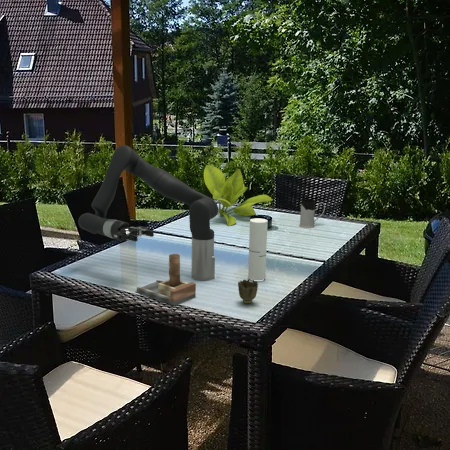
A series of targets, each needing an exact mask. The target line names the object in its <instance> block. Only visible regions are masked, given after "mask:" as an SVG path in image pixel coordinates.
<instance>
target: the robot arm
mask: <svg viewBox="0 0 450 450" xmlns="http://www.w3.org/2000/svg"><path fill="white" fill-rule="evenodd" d="M123 171H126V172H127V173H129V174H132V175H133V176H135V177H137V178H139V179H140V180H142V181H143V182H144V183H145V184H146V185H148V186H149V188H151V189H152V190H153V191H155V192H157V193H158V194H160V195H162V196H163V197H165V198H166V199H170V200H173V201H176V202H180V203H182V204H185V205H187V206H188V207H189V211H188V212H189V216H188V217H189V220H188V221H189V230H190V233H191V278H192V279H193V280H195V281H209V280H213V279H215V278H216V277H215V273H216V271H215V270H216V269H215V268H216V256H215V230H213V229H212V228H211V220H213V218H215V217H217V215H218V214H219V204H217V202H216V201H215V199H213V198H212V197H210V196H207V195H206V194H204V193H201V192H200V191H198V190H195V189H193V188H192V187H190V185H188V184H186V183H185V182H183V181H181V180H180V179H178V177H175V176H174V175H172V174H171V173H170V172H168V171H166V170H164V169H162V168H160V167H158V166H155V165H152V164H150V163H149V162H148V161H146V160H145V159H144V158H143V157H141V156H140V155H139V154H138V153H137V152H136V151H135V150H134V149H132V148H131V147H130V146H129V145H120V146H118V147H117V148H116V149H115V150H114V151H113V154H112V157H111V159H110V162H109V166H108V168H107V171H106V174H105V177H104V179H103V181H102V184H101V186H100V188H99V189H98V192H96V195H95V196H94V199H93V200H92V202H91V208H92V209H93V210H94V211H95V214H93V213H91V212H86V213H83V214H81V215H80V216H79V218H78V220H77V222H78V226H79V228H80V229H82V230H84V231H86V232H89V233H91V234H93V235H96V234H99V235H101V236H105V237H108V238H111V239H114V240H117V241H121V242H125V241H131V242H138V238H139V237H142V236H146V237H150V238H153V237H154V236H155V235H154V234H155V233H154V230H150V227H146V226H141V225H138V226H137V227H135V226H131V225H130V223H129V222H127V221H126V222H125V221H123V220H117V219H110V218H106V217H107V214H108V209H109V208H110V206H111V205H112V202H113V201H114V199H115V195H116V193H117V192H116V191H117V188H118V184H119V180H120V178H121V175H122V174H123Z"/></svg>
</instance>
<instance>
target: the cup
mask: <svg viewBox="0 0 450 450" xmlns="http://www.w3.org/2000/svg"><path fill="white" fill-rule="evenodd" d="M237 285H238V286H237V287H238V294H239V297H240V299H242V304H245V305H251V304H253V300H254V299H256V296H257V293H258V289H259V283H258V282H257V281H254V280H253V281H250V280H249V279H247V280H246V279H243V280H240V281H238V282H237Z"/></svg>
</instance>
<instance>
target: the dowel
mask: <svg viewBox="0 0 450 450" xmlns="http://www.w3.org/2000/svg"><path fill="white" fill-rule="evenodd" d="M180 255H181V254H178V253H172V254H171V253H170V254H169V255H168V264H169V265H168V268H169V269H168V272H169V273H168V274H169V275H168V276H169V277H168V278H169V279H168V280H169V284H170V286H171V287H176V286H179V285H180V281H181V256H180Z"/></svg>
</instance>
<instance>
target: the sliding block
mask: <svg viewBox="0 0 450 450" xmlns="http://www.w3.org/2000/svg"><path fill="white" fill-rule="evenodd" d="M163 281H164V280H163ZM188 283H189V282H186V281H183V280H180V285H179V286H176V287H171V286H170V284H169V279H167V280H165V281H164V282H162V283H159V284H158V293H159V294H162V295H165V296H168V297H170V290H173V289H176V288H178V287H181V286H183V285H186V284H188Z"/></svg>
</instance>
